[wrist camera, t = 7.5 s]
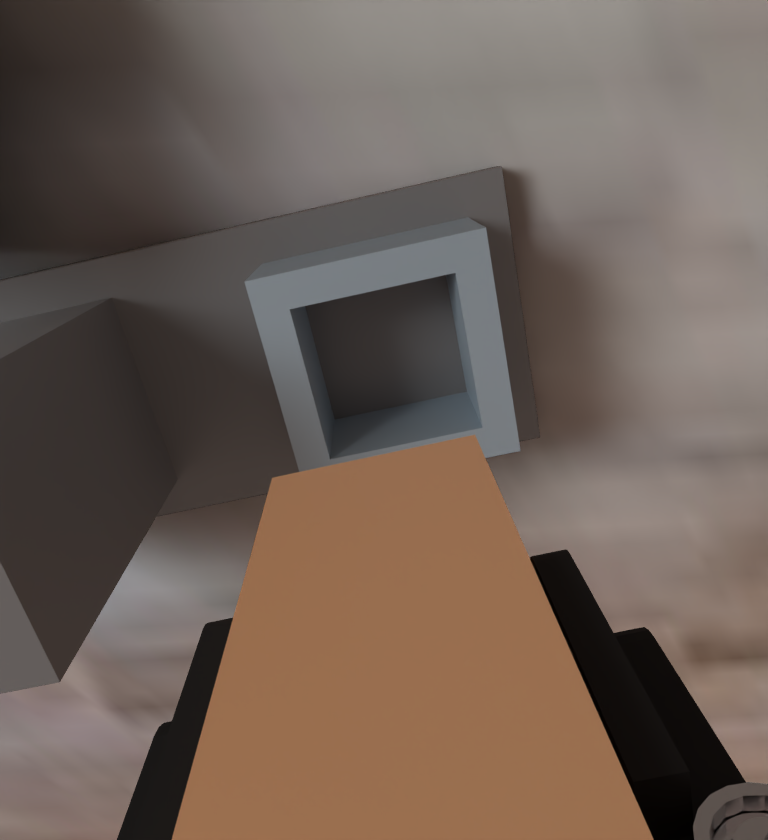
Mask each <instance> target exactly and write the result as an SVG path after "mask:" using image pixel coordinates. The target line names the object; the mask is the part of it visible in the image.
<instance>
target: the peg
mask: <svg viewBox="0 0 768 840" xmlns="http://www.w3.org/2000/svg"><path fill="white" fill-rule="evenodd" d="M172 840H654V839H653V837H652V835H651V832H650V830H649V828H648V826H647V823H646V821H645V819H644V817H643V814H642V812H641V810H640V808H639V805H638V803H637V801H636V798H635V796H634V794H633V792H632V789H631V787H630V785H629V783H628V780H627V778H626V776H625V774H624V771H623V769H622V767H621V764H620V762H619V760H618V758H617V755H616V753H615V751H614V749H613V746H612V744H611V742H610V740H609V737H608V735H607V733H606V730H605V728H604V726H603V724H602V721H601V719H600V717H599V715H598V712H597V710H596V708H595V706H594V703H593V701H592V699H591V696H590V694H589V692H588V690H587V687H586V685H585V683H584V681H583V678H582V676H581V674H580V672H579V669H578V667H577V665H576V662H575V660H574V658H573V656H572V653H571V651H570V649H569V647H568V644H567V642H566V640H565V638H564V635H563V633H562V631H561V628H560V626H559V624H558V622H557V619H556V617H555V615H554V613H553V610H552V608H551V606H550V604H549V601H548V599H547V597H546V594H545V592H544V590H543V588H542V585H541V583H540V581H539V579H538V576H537V574H536V572H535V570H534V567H533V565H532V563H531V560H530V558H529V556H528V554H527V551H526V549H525V547H524V545H523V542H522V540H521V538H520V536H519V533H518V531H517V529H516V526H515V524H514V522H513V520H512V517H511V515H510V513H509V511H508V508H507V506H506V504H505V502H504V499H503V497H502V495H501V492H500V490H499V488H498V486H497V483H496V481H495V479H494V477H493V474H492V472H491V470H490V468H489V465H488V463H487V461H486V458H485V456H484V454H483V452H482V449H481V447H480V445H479V443H478V440H477V438H476V436H475V435H471V436H466V437H461V438H456V439H452V440H447V441H442V442H438V443H433V444H428V445H424V446H419V447H414V448H410V449H405V450H400V451H395V452H391V453H386V454H381V455H377V456H372V457H367V458H363V459H358V460H353V461H349V462H344V463H339V464H334V465H330V466H325V467H320V468H316V469H311V470H306V471H302V472H297V473H292V474H288V475H283V476H278V477H273V478H272V480H271V484H270V487H269V491H268V494H267V498H266V502H265V505H264V509H263V512H262V516H261V520H260V523H259V527H258V530H257V534H256V538H255V541H254V545H253V548H252V552H251V556H250V559H249V563H248V566H247V570H246V574H245V577H244V581H243V584H242V588H241V592H240V595H239V599H238V602H237V606H236V610H235V613H234V617H233V620H232V624H231V628H230V631H229V635H228V638H227V642H226V646H225V649H224V653H223V656H222V660H221V664H220V667H219V671H218V674H217V678H216V682H215V685H214V689H213V692H212V696H211V700H210V703H209V707H208V710H207V714H206V718H205V721H204V725H203V728H202V732H201V736H200V739H199V743H198V746H197V750H196V754H195V757H194V761H193V764H192V768H191V772H190V775H189V779H188V782H187V786H186V790H185V793H184V797H183V800H182V804H181V808H180V811H179V815H178V818H177V822H176V826H175V829H174V833H173V836H172Z"/></svg>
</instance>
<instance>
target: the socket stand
mask: <svg viewBox="0 0 768 840" xmlns="http://www.w3.org/2000/svg"><path fill="white" fill-rule="evenodd" d="M471 435H475V436H476V438H477V440H478V443H479V445H480V447H481V449H482V452H483V454H484V456H485V458H489V457H493V456H498V455H503V454H508V453H513V452H518V451H521V450H520V444H519V441H524V440H529V439H534V438H539V437H540V432H539V425H538V418H537V411H536V404H535V397H534V390H533V383H532V376H531V369H530V362H529V355H528V348H527V341H526V334H525V327H524V320H523V313H522V306H521V299H520V292H519V285H518V278H517V271H516V264H515V257H514V250H513V242H512V235H511V228H510V221H509V214H508V207H507V200H506V193H505V186H504V179H503V172H502V167H501V166H496V167H491V168H487V169H482V170H478V171H474V172H469V173H465V174H461V175H456V176H452V177H447V178H443V179H439V180H434V181H430V182H426V183H421V184H417V185H412V186H408V187H404V188H399V189H395V190H391V191H386V192H382V193H377V194H373V195H369V196H364V197H360V198H356V199H351V200H347V201H342V202H338V203H334V204H329V205H325V206H321V207H316V208H312V209H307V210H303V211H299V212H294V213H290V214H286V215H281V216H277V217H272V218H268V219H264V220H259V221H255V222H251V223H246V224H242V225H237V226H233V227H229V228H224V229H220V230H216V231H211V232H207V233H202V234H198V235H194V236H189V237H185V238H181V239H176V240H172V241H167V242H163V243H159V244H154V245H150V246H146V247H141V248H137V249H132V250H128V251H124V252H119V253H115V254H111V255H106V256H102V257H97V258H93V259H89V260H84V261H80V262H76V263H71V264H67V265H62V266H58V267H54V268H49V269H45V270H41V271H36V272H32V273H27V274H23V275H19V276H14V277H10V278H6V279H1V280H0V694H1V693H6V692H12V691H17V690H22V689H27V688H32V687H37V686H42V685H47V684H53V683H58V682H60V681H61V679H62V678H63V676H64V674H65V672H66V671H67V669H68V667H69V665H70V664H71V662H72V660H73V659H74V657H75V655H76V653H77V652H78V650H79V648H80V647H81V645H82V643H83V641H84V640H85V638H86V636H87V635H88V633H89V631H90V629H91V628H92V626H93V624H94V622H95V621H96V619H97V617H98V616H99V614H100V612H101V610H102V609H103V607H104V605H105V604H106V602H107V600H108V598H109V597H110V595H111V593H112V592H113V590H114V588H115V586H116V585H117V583H118V581H119V580H120V578H121V576H122V574H123V573H124V571H125V569H126V567H127V566H128V564H129V562H130V561H131V559H132V557H133V555H134V554H135V552H136V550H137V549H138V547H139V545H140V543H141V542H142V540H143V538H144V537H145V535H146V533H147V531H148V530H149V528H150V526H151V525H152V523H153V521H154V519H155V518H156V517H157V516H162V515H166V514H171V513H176V512H181V511H186V510H191V509H195V508H200V507H205V506H210V505H215V504H220V503H224V502H229V501H234V500H239V499H244V498H249V497H253V496H258V495H263V494H268V491H269V487H270V484H271V480H272V478H273V477H278V476H283V475H288V474H292V473H297V472H302V471H306V470H311V469H316V468H320V467H325V466H330V465H334V464H339V463H344V462H349V461H353V460H358V459H363V458H367V457H372V456H377V455H381V454H386V453H391V452H395V451H400V450H405V449H410V448H414V447H419V446H424V445H428V444H433V443H438V442H442V441H447V440H452V439H456V438H461V437H466V436H471Z"/></svg>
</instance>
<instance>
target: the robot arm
mask: <svg viewBox="0 0 768 840" xmlns="http://www.w3.org/2000/svg"><path fill="white" fill-rule="evenodd" d="M530 560H531V563H532V565H533V567H534V570H535V572H536V574H537V576H538V579H539V581H540V583H541V585H542V588H543V590H544V592H545V594H546V597H547V599H548V601H549V604H550V606H551V608H552V610H553V613H554V615H555V617H556V619H557V622H558V624H559V626H560V628H561V631H562V633H563V635H564V638H565V640H566V642H567V644H568V647H569V649H570V651H571V653H572V656H573V658H574V660H575V662H576V665H577V667H578V669H579V672H580V674H581V676H582V678H583V681H584V683H585V685H586V687H587V690H588V692H589V694H590V696H591V699H592V701H593V703H594V706H595V708H596V710H597V712H598V715H599V717H600V719H601V721H602V724H603V726H604V728H605V730H606V733H607V735H608V737H609V740H610V742H611V744H612V746H613V749H614V751H615V753H616V755H617V758H618V760H619V762H620V764H621V767H622V769H623V771H624V774H625V776H626V778H627V780H628V783H629V785H630V787H631V789H632V792H633V794H634V796H635V798H636V801H637V803H638V805H639V808H640V810H641V812H642V814H643V817H644V819H645V821H646V823H647V826H648V828H649V830H650V832H651V835H652V837H653V839H654V840H768V784H761V783H751V782H747V783H746V782H745V780H744V779H743V777H742V775H741V774H740V772H739V771H738V769H737V767H736V766H735V764H734V763H733V761H732V760H731V758H730V756H729V755H728V753H727V752H726V750H725V749H724V747H723V745H722V744H721V742H720V741H719V739H718V737H717V736H716V734H715V733H714V731H713V730H712V728H711V726H710V725H709V723H708V722H707V720H706V718H705V717H704V715H703V714H702V712H701V711H700V709H699V707H698V706H697V704H696V703H695V701H694V699H693V698H692V696H691V695H690V693H689V692H688V690H687V688H686V687H685V685H684V684H683V682H682V680H681V679H680V677H679V676H678V674H677V673H676V671H675V669H674V668H673V666H672V665H671V663H670V662H669V660H668V658H667V657H666V655H665V654H664V652H663V650H662V649H661V647H660V646H659V644H658V643H657V641H656V639H655V638H654V636H653V635H652V634H651V632H650V631H649V630H648V629H646V628H645V627H642V628H637V629H632V630H627V631H622V632H617V633H613V631H612V629H611V628H610V626H609V624H608V622H607V620H606V618H605V617H604V615H603V613H602V611H601V609H600V608H599V606H598V604H597V602H596V600H595V599H594V597H593V595H592V593H591V591H590V589H589V588H588V586H587V584H586V582H585V580H584V579H583V577H582V575H581V573H580V571H579V569H578V568H577V566H576V564H575V562H574V560H573V559H572V557H571V555H570V553H569V552H568V550H561V551H556V552H551V553H546V554H541V555H536V556H532V557H531V558H530ZM232 620H233V618H229V619H225V620H220V621H215V622H210V623H207V624H205V626H204V628H203V631H202V634H201V637H200V640H199V643H198V646H197V649H196V651H195V654H194V657H193V660H192V663H191V666H190V669H189V672H188V675H187V678H186V681H185V684H184V687H183V690H182V693H181V696H180V699H179V702H178V705H177V708H176V711H175V714H174V717H173V720H172V721H171V722H166V723H163V724H162V725H161V726H160V727H159V728H158V730H157V732H156V734H155V736H154V738H153V741H152V744H151V746H150V749H149V752H148V755H147V757H146V760H145V763H144V766H143V769H142V771H141V774H140V777H139V780H138V782H137V785H136V788H135V791H134V794H133V796H132V799H131V802H130V805H129V807H128V810H127V813H126V816H125V819H124V821H123V824H122V827H121V830H120V833H119V835H118V838H117V840H172V836H173V833H174V829H175V826H176V822H177V818H178V815H179V811H180V808H181V804H182V800H183V797H184V793H185V790H186V786H187V782H188V779H189V775H190V772H191V768H192V764H193V761H194V757H195V754H196V750H197V746H198V743H199V739H200V736H201V732H202V728H203V725H204V721H205V718H206V714H207V710H208V707H209V703H210V700H211V696H212V692H213V689H214V685H215V682H216V678H217V674H218V671H219V667H220V664H221V660H222V656H223V653H224V649H225V646H226V642H227V638H228V635H229V631H230V628H231V624H232Z"/></svg>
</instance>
